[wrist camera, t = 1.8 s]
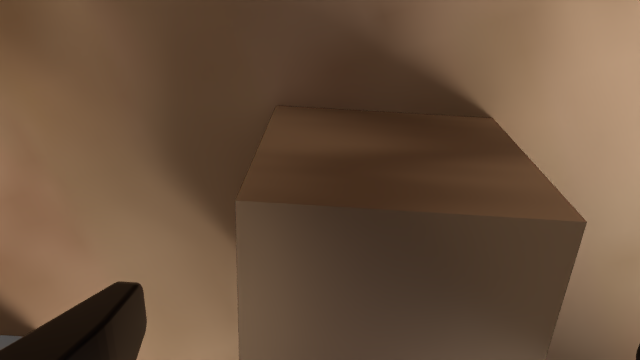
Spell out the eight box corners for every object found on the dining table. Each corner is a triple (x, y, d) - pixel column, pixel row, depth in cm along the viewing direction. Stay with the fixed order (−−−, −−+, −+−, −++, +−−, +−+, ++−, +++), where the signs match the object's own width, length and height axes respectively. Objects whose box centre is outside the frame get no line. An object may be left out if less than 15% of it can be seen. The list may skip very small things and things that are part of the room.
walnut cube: (491, 117, 12) (587, 221, 7) (457, 293, 14) (514, 461, 9) (276, 104, 12) (235, 200, 7) (274, 281, 14) (241, 442, 9)
